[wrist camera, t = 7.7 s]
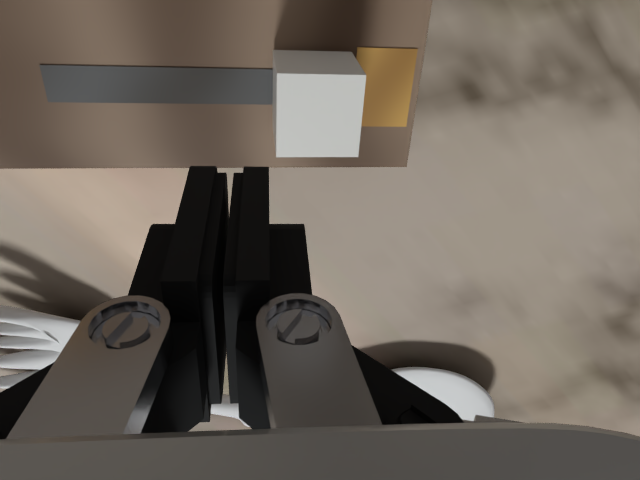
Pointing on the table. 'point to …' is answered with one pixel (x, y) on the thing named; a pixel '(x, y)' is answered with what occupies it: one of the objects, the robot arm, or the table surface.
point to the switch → (317, 103)
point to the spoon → (55, 332)
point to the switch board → (192, 79)
